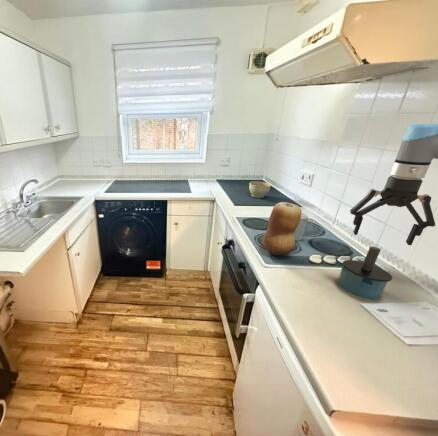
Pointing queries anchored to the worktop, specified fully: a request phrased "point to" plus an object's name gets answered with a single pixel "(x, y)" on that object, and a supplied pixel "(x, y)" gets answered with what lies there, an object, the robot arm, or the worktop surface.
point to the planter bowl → (259, 189)
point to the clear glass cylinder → (301, 227)
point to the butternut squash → (282, 228)
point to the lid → (368, 267)
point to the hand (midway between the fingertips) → (380, 238)
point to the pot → (360, 285)
